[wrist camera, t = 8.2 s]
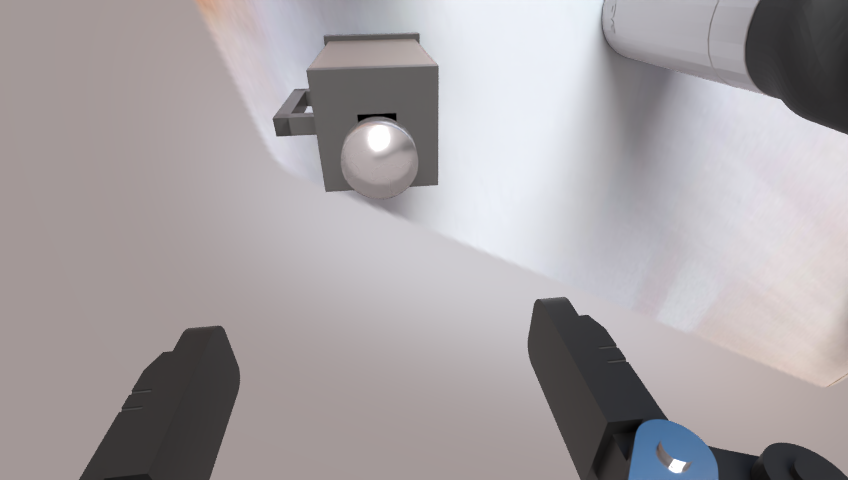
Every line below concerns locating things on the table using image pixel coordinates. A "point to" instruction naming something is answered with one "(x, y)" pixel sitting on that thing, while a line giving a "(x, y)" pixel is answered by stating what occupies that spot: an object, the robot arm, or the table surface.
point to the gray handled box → (366, 98)
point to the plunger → (379, 156)
